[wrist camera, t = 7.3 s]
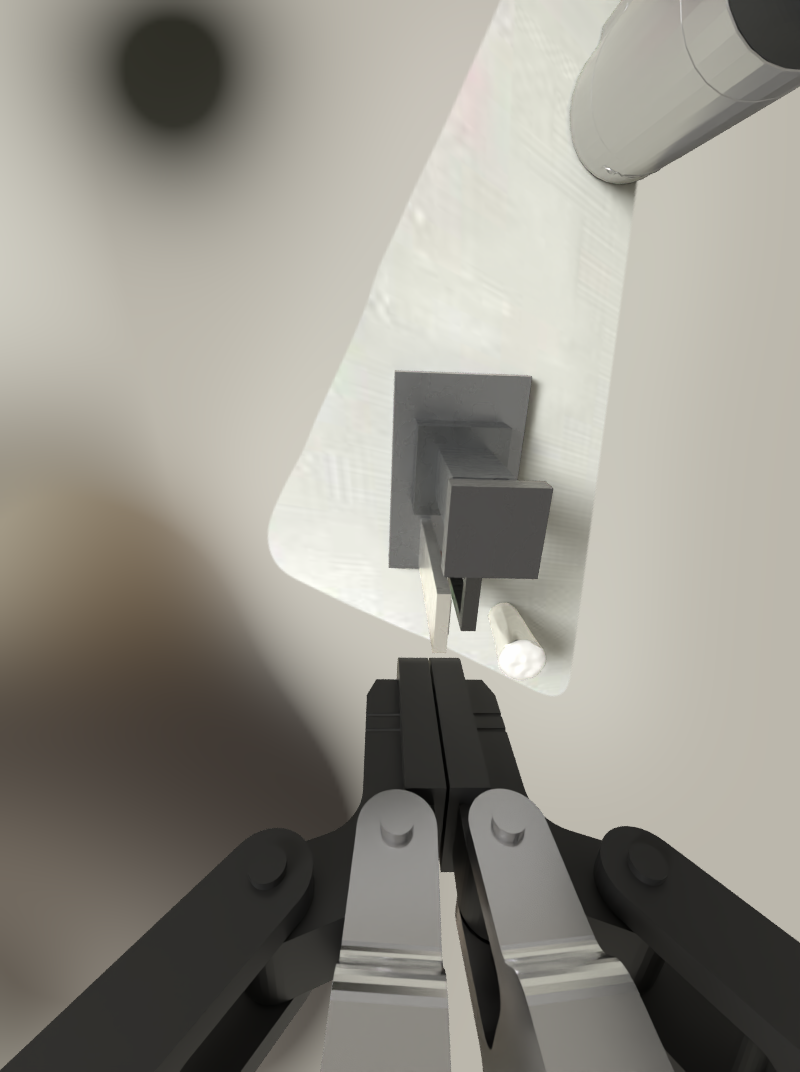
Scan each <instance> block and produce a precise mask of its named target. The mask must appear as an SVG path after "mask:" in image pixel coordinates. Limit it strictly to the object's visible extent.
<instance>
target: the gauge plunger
mask: <svg viewBox="0 0 800 1072" xmlns="http://www.w3.org/2000/svg"><path fill="white" fill-rule="evenodd" d="M552 493H553V488H552V487H551V486H550V485H549V484H548V483H547V482H545V481H521V480H483V479H448V487H447V499H446V511H445V524H444V536H443V548H442V561H441V568H442V572H443V576H444V577H448V583H449V586H450V590H451V594H452V595H451V596H452V599H453V603H454V607H455V611H456V614H457V618H458V622H459V626H460V629H461V631H475V630H476V622H477V614H478V605H479V597H480V589H481V581H482V578H517V579H538V573H539V567H540V562H541V556H542V550H543V545H544V539H545V533H546V527H547V522H548V516H549V510H550V504H551V499H552ZM462 578H464V582H463V579H462Z"/></svg>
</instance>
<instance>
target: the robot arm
mask: <svg viewBox="0 0 800 1072" xmlns="http://www.w3.org/2000/svg"><path fill="white" fill-rule="evenodd" d="M799 86H800V0H621V2H620V3H619V5H618V6H617V7H616V9H615V10H614V11H613V13H612V14H611V16H610V17H609V18H608V20H607V21H606V23H605V24H604V26H603V29H602V36H601V40H600V43H599V45H598V47H597V48H596V50H595V51H594V53H593V54H592V55H591V57H590V58H589V59H588V61H587V62H586V63H585V65H584V67H583V69H582V71H581V73H580V75H579V77H578V80H577V83H576V86H575V89H574V92H573V95H572V102H571V108H570V131H571V136H572V141H573V145H574V147H575V150H576V152H577V155H578V157H579V159H580V160H581V162H582V163H583V165H584V166H585V168H586V169H587V170H589V171H590V172H591V173H592V174H593V175H594V176H595V177H597V178H599V179H601V180H603V181H605V182H610V183H615V184H625V183H632V182H635V181H638V180H641V179H643V178H645V177H647V176H648V175H650V174H652V173H655V172H657V171H659V170H660V169H661V168H662V167H664V166H666V165H667V164H669V163H671V162H673V161H674V160H676V159H678V158H680V157H682V156H683V155H685V154H687V153H688V152H690V151H692V150H693V149H695V148H697V147H698V146H700V145H702V144H704V143H705V142H707V141H709V140H710V139H712V138H714V137H715V136H717V135H719V134H720V133H722V132H724V131H726V130H727V129H729V128H731V127H732V126H734V125H736V124H737V123H739V122H741V121H742V120H744V119H746V118H747V117H749V116H751V115H752V114H754V113H756V112H757V111H759V110H761V109H763V108H764V107H766V106H767V105H769V104H771V103H773V102H774V101H776V100H778V99H779V98H781V97H783V96H785V95H786V94H788V93H790V92H791V91H793V90H795V89H796V88H798V87H799ZM364 758H365V759H364V781H363V796H362V800H361V803H360V805H359V807H358V809H357V811H356V812H355V814H354V815H353V816H352V817H351V819H350V820H349V821H348V822H346V823H345V824H344V825H343V826H342V827H340V828H338V829H337V830H335V831H332V832H330V833H328V834H325V835H322V836H320V837H317V838H314V839H311V840H308V841H305V840H304V839H303V838H302V837H301V836H300V835H299V834H297V833H296V832H293V831H291V830H288V829H284V828H272V829H267V830H263V831H260V832H258V833H255V834H253V835H252V836H250V837H249V838H247V839H246V840H245V841H243V842H242V843H241V844H240V845H239V846H238V847H236V848H235V849H234V850H233V851H232V852H231V853H230V854H229V855H228V856H227V857H226V858H225V859H224V860H223V861H222V862H221V863H220V864H218V865H217V866H216V867H215V868H214V869H213V870H212V871H211V872H210V873H209V874H208V875H207V876H206V877H205V878H204V879H203V880H202V881H201V882H199V883H198V885H196V886H195V887H194V888H193V889H192V890H191V891H190V892H189V893H188V894H187V895H186V896H185V897H183V898H182V899H181V900H180V901H179V902H178V903H177V904H176V905H175V906H174V907H173V908H172V909H171V910H170V911H169V912H168V913H166V914H165V915H164V916H163V917H162V918H161V919H160V920H159V921H158V922H157V923H156V924H155V925H154V926H153V927H152V928H151V929H150V930H148V931H147V933H145V934H144V935H143V936H142V937H141V938H140V939H139V940H138V941H137V942H136V943H135V944H134V945H133V946H131V947H130V948H129V949H128V950H127V951H126V952H125V953H124V954H123V955H122V956H121V957H120V958H119V959H118V960H117V961H116V962H115V963H113V964H112V966H110V967H109V968H108V969H107V970H106V971H105V972H104V973H103V974H102V975H101V976H100V977H99V978H98V979H96V980H95V981H94V982H93V983H92V984H91V985H90V986H89V987H88V988H87V989H86V990H85V991H84V992H83V993H82V994H81V995H80V996H78V997H77V998H76V999H75V1000H74V1001H73V1002H72V1003H71V1004H70V1005H69V1006H68V1007H67V1008H66V1009H65V1010H64V1011H63V1012H61V1013H60V1014H59V1015H58V1016H57V1017H56V1018H55V1019H54V1020H53V1021H52V1022H51V1023H50V1024H49V1025H48V1026H47V1027H46V1028H45V1029H44V1030H42V1031H41V1032H40V1033H39V1034H38V1035H37V1036H36V1037H35V1038H34V1039H33V1040H32V1041H31V1042H30V1043H29V1044H28V1045H26V1046H25V1047H24V1048H23V1049H22V1050H21V1051H20V1052H19V1053H18V1054H17V1055H16V1056H15V1057H14V1058H13V1059H12V1060H11V1061H9V1063H7V1064H6V1065H5V1066H4V1067H3V1068H2V1069H1V1070H0V1072H255V1071H256V1070H257V1068H258V1067H259V1065H260V1064H261V1063H262V1061H263V1060H264V1058H265V1057H266V1056H267V1054H268V1053H269V1051H270V1050H271V1049H272V1047H273V1046H274V1044H275V1043H276V1041H277V1040H278V1039H279V1037H280V1036H281V1034H282V1033H283V1032H284V1030H285V1029H286V1027H287V1026H288V1024H289V1023H290V1022H291V1020H292V1019H293V1017H294V1016H295V1015H296V1013H297V1012H298V1010H299V1009H300V1007H301V1006H302V1005H303V1003H304V1002H305V1000H306V999H307V997H308V996H309V994H310V992H311V991H312V989H314V988H316V987H318V986H320V985H322V984H325V983H327V982H329V981H331V980H333V984H332V990H331V997H330V1005H329V1012H328V1020H327V1027H326V1034H325V1042H324V1049H323V1057H322V1064H321V1071H320V1072H451V1061H450V1037H449V1013H448V994H447V981H446V973H445V969H444V968H443V963H442V946H441V922H440V921H441V918H440V890H439V864H438V861H440V870H441V872H454V875H455V882H456V889H457V901H456V910H455V917H456V924H457V930H458V935H459V940H460V945H461V950H462V956H463V961H464V966H465V971H466V976H467V982H468V986H469V992H470V997H471V1002H472V1007H473V1013H474V1018H475V1023H476V1029H477V1034H478V1039H479V1045H480V1051H481V1057H482V1066H483V1072H800V943H799V942H798V941H797V940H795V939H794V938H793V937H791V936H790V935H789V934H787V933H786V932H785V931H783V930H782V929H781V928H779V927H778V926H777V925H775V924H774V923H773V922H771V921H770V920H769V919H767V918H766V917H765V916H763V915H762V914H761V913H759V912H758V911H757V910H755V909H754V908H753V907H751V906H750V905H749V904H747V903H746V902H745V901H743V900H742V899H741V898H739V897H738V896H737V895H735V894H734V893H733V892H731V891H730V890H729V889H727V888H726V887H725V886H723V885H722V884H721V883H719V882H718V881H717V880H715V879H714V878H713V877H711V876H710V875H709V874H707V873H706V872H705V871H703V870H702V869H701V868H699V867H698V866H697V865H695V864H694V863H693V862H691V861H690V860H689V859H687V858H686V857H685V856H683V855H682V854H681V853H679V852H678V851H677V850H675V849H674V848H673V847H671V846H670V845H669V844H667V843H666V842H665V841H663V840H662V839H660V838H659V837H657V836H656V835H654V834H652V833H650V832H648V831H645V830H643V829H640V828H636V827H629V826H622V827H617V828H614V829H612V830H610V831H609V832H608V833H607V834H606V835H605V836H604V838H603V839H602V840H598V839H595V838H592V837H589V836H586V835H582V834H579V833H576V832H573V831H569V830H567V829H564V828H561V827H560V826H558V825H555V824H554V823H552V822H551V821H549V820H548V819H546V818H545V817H544V815H543V814H542V812H541V811H540V810H539V808H538V807H537V806H536V805H535V804H534V803H533V802H532V801H531V800H529V798H528V796H527V794H526V792H525V789H524V786H523V783H522V779H521V776H520V773H519V770H518V767H517V764H516V760H515V757H514V754H513V751H512V748H511V745H510V741H509V738H508V735H507V733H506V732H505V725H504V722H503V719H502V717H501V713H500V710H499V706H498V703H497V700H496V697H495V695H494V693H493V692H492V691H491V690H490V689H489V688H488V687H487V685H486V684H485V683H484V682H483V681H482V680H465V677H464V673H463V669H462V665H461V661H460V659H459V658H429V662H428V658H398V663H397V680H390V679H388V680H386V679H385V680H384V679H381V680H380V679H377V680H376V681H375V683H374V684H373V686H372V688H371V689H370V691H369V693H368V694H367V709H366V732H365V756H364Z"/></svg>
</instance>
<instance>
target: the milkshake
mask: <svg viewBox="0 0 800 1072" xmlns="http://www.w3.org/2000/svg"><path fill="white" fill-rule="evenodd" d="M488 619H489V623H490V627H491V631H492V635H493V639H494V644H495V649H496V655H497V660H498V666H499V669H500V670H501V672H502V673H503V674H504V675H505V676H507V677H508V678H511V679H515V680H526V679H530V678H533V677H535V676H537V675H538V674H539V673H540V672H541V670H542V669H543V668H544V666H545V663H546V656H545V652H544V650H543V647H541V646H540V644H539V643H538V641H537V640H536V638H535V637H534V636H533V634H532V633H531V631H530V630H529V628H528V627H527V625H526V623H525V622H524V620H523V619H522V617H521V616H520V614H519V613H518V611H517V609H516V608H515V607H514V606H512V605H511V604H509V603H498V604H496V605H495V606H493V607H492V608H491V609H490V612H489V614H488Z"/></svg>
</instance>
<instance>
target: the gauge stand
mask: <svg viewBox="0 0 800 1072" xmlns="http://www.w3.org/2000/svg"><path fill="white" fill-rule="evenodd" d="M531 382H532V376H528V375H507V374H480V373H453V372H426V371H399V370H395V374H394V407H393V439H392V471H391V503H390V536H389V568H419V571H420V577H421V583H422V590H423V596H424V602H425V609H426V615H427V621H428V627H429V634H430V640H431V646H432V652H433V653H446V649H447V638H448V633H449V622H450V612H451V601H452V600H451V595H452V594H451V590H450V586H449V583H448V579H447V577H444V576H443V572H442V568H441V561H442V548H443V536H444V524H445V511H446V499H447V487H448V479H483V480H518V473H519V466H520V459H521V452H522V445H523V438H524V431H525V424H526V417H527V410H528V403H529V396H530V389H531Z"/></svg>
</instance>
